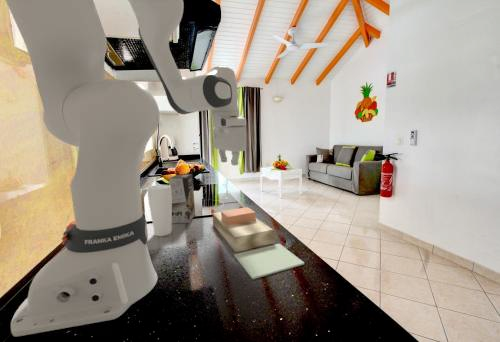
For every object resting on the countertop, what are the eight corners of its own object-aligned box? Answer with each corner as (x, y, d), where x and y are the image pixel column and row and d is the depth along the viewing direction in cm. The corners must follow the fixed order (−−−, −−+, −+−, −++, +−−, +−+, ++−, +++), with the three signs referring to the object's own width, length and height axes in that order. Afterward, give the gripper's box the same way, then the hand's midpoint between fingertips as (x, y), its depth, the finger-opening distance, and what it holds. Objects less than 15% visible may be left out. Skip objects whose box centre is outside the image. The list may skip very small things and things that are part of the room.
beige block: (235, 252, 60) (235, 237, 60) (213, 224, 80) (212, 213, 80) (273, 243, 65) (273, 229, 64) (243, 219, 85) (242, 208, 84)
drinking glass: (148, 233, 74) (144, 186, 72) (169, 227, 79) (166, 183, 77) (156, 240, 69) (151, 190, 67) (178, 233, 74) (174, 186, 71)
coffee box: (189, 223, 83) (186, 177, 80) (171, 223, 83) (167, 178, 80) (195, 214, 92) (193, 173, 89) (179, 215, 92) (176, 174, 89)
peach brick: (227, 225, 68) (227, 217, 68) (221, 219, 74) (221, 211, 73) (255, 220, 72) (255, 212, 72) (247, 214, 77) (247, 207, 77)
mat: (252, 279, 49) (252, 277, 49) (234, 255, 59) (234, 254, 59) (304, 264, 54) (304, 262, 54) (279, 244, 64) (279, 243, 64)
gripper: (207, 123, 84) (210, 161, 87) (229, 120, 66) (232, 168, 69) (223, 122, 87) (226, 159, 90) (248, 119, 69) (251, 165, 72)
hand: (229, 163), depth 79 cm, fingers open, 8 cm apart
